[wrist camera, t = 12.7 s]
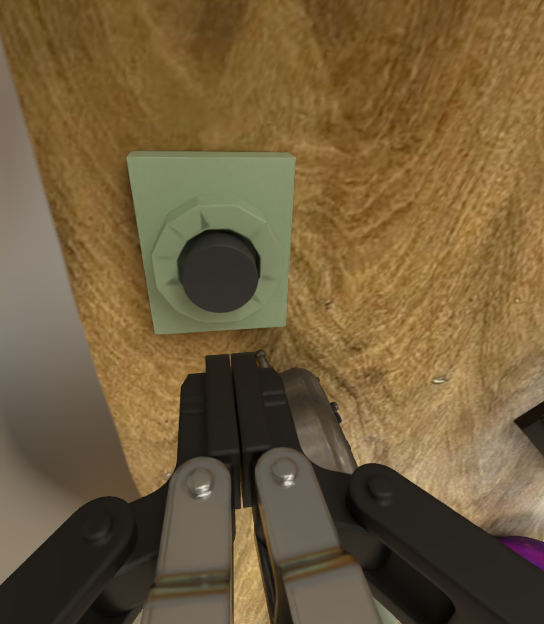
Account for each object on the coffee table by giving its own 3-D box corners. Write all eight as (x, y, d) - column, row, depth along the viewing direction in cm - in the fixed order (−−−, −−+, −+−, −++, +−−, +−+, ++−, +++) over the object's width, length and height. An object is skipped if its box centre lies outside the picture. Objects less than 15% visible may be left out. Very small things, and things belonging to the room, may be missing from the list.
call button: (180, 233, 18) (178, 246, 17) (254, 231, 19) (259, 244, 17) (186, 298, 20) (185, 315, 18) (254, 294, 20) (258, 311, 19)
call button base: (131, 150, 19) (118, 164, 16) (289, 152, 20) (304, 164, 17) (157, 320, 24) (151, 353, 21) (280, 312, 25) (291, 343, 22)
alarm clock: (231, 345, 26) (265, 642, 12) (305, 318, 26) (424, 589, 12) (279, 439, 32) (338, 710, 18) (339, 418, 32) (444, 675, 18)
